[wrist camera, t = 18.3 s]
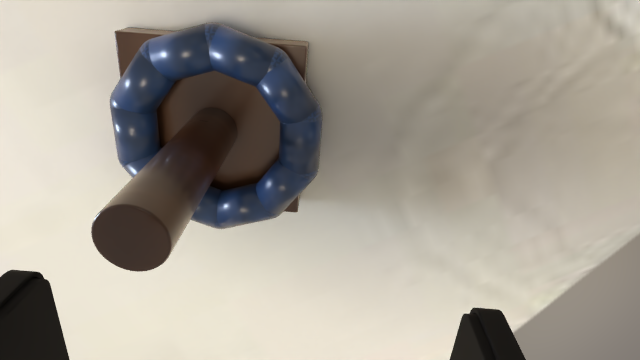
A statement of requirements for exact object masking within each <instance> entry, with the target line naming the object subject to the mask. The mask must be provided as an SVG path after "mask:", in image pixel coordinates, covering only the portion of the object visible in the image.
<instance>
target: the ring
mask: <svg viewBox="0 0 640 360" xmlns="http://www.w3.org/2000/svg"><path fill="white" fill-rule="evenodd" d="M211 71H217V72H219V73H222V74H224V75H227V76H230V77H232V78H235V79H237V80H240V81H242V82H245V83H247V84H250V85H252V86H255V87H256V88H257V89H258V91H259V92H260V94H261V95H262V96H263V98H264V99H265V101H266V102H267V104H268V105H269V107H270V108H271V109H272V111H273V112H274V114H275V115H276V117H277V118H278V120H279V121H280V143H279V158H278V160H277V161H276V162H275V163H274V164H273V165H272V167H271V168H270V169H269V170H268V171H267V172H266V174H265V175H264V176H263V177H262V178H261V179H260V180H259V182H258V183H254V184H250V185H245V186H241V187H236V188H232V189H227V190H220V189H217V188H215V187H212V186H209V188H208V190H207V191H206V193H205V195H204V197H203V198H202V200H201V202H200V203H199V205H198V207H197V209H196V210H195V212H194V214H193V216H192V217H191V219H190V220H193V221H196V222H199V223H202V224H205V225H208V226H211V227H213V228H217V229H225V228H230V227H235V226H239V225H244V224H249V223H254V222H259V221H263V220H268V219H272V218H276V217H277V216H279V215H280V214H281V213H282V212H283V211H284V210H285V209H286V208H287V207H288V206H289V205H290V204H291V203H292V202H293V201H294V199H295V198H296V197H297V196H298V195H299V194H300V193H301V192H302V191H303V190H304V189H305V188H306V186H307V185H308V184H309V183H310V182H311V181H312V180H313V179H314V178H315V176H316V175H317V172H318V168H319V156H320V142H321V128H322V110H321V107H320V105H319V103H318V102H317V100H316V99H315V97H314V95H313V94H312V92H311V91H310V89H309V88H308V86H307V85H306V83H305V81H304V80H303V78H302V77H301V75H300V74H299V72H298V71H297V69H296V67H295V66H294V64H293V63H292V61H291V60H290V58H289V57H288V55H287V54H286V53H285V52H284V51H283V50H282V49H280V48H278V47H276V46H274V45H271V44H269V43H266V42H264V41H261V40H259V39H257V38H254V37H252V36H249V35H247V34H244V33H242V32H240V31H237V30H235V29H232V28H230V27H227V26H225V25H223V24H220V23H213V22H212V23H206V24H202V25H199V26H195V27H191V28H188V29H184V30H181V31H177V32H173V33H170V34H166V35H162V36H159V37H155V38H152V39H149V40H147V41H146V42H145V43H143V44H142V46H141V47H140V48H139V50H138V52H137V53H136V55H135V56H134V58H133V60H132V61H131V63H130V65H129V66H128V68H127V69H126V71H125V73H124V74H123V76H122V77H121V79H120V81H119V82H118V84H117V85H116V87H115V89H114V90H113V92H112V94H111V97H110V108H111V115H112V121H113V128H114V134H115V141H116V148H117V154H118V159H119V162H120V164H121V165H122V166H123V167H124V169H125V170H126V171H127V172H128V173H129V174H130V175H131V176H132V178H133V177H134V176H135V175H136V174H137V173H138V172H139V171H140V170H141V169H142V168H143V167H144V166H145V165H146V164H147V163H148V162H149V161H150V160H151V159H152V158H153V157H154V156H155V155H156V154H157V153H158V152H159V151H160V150H161V149H162V148H161V147H160V139H159V130H158V120H157V111H156V110H157V108H158V107H159V105H160V104H161V102H162V101H163V100H164V98H165V97H166V95H167V94H168V92H169V91H170V89H171V88H172V86H173V85H174V83H175V82H176V81H177V80H181V79H184V78H188V77H192V76H196V75H200V74H204V73H208V72H211Z"/></svg>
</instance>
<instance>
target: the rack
mask: <svg viewBox="0 0 640 360" xmlns="http://www.w3.org/2000/svg"><path fill="white" fill-rule="evenodd" d="M173 32H177V31H165V30H152V29H139V28H125V29H121V30H118V31H115V39H116V47H117V54H118V62H119V69H120V77H122V76H123V74H124V73H125V71H126V69H127V68H128V66H129V65H130V63H131V61H132V60H133V58H134V56H135V55H136V53H137V52H138V50H139V48H140V47H141V46H142V44H143V43H145V42H146V41H147V40H149V39H152V38H155V37H159V36H162V35H166V34H170V33H173ZM257 39H259V40H261V41H264V42H266V43H269V44H271V45H274V46H276V47H278V48H280V49H282V50H283V51H284V52H285V53H286V54H287V55H288V57H289V58H290V60H291V61H292V63H293V64H294V66H295V67H296V69H297V71H298V72H299V74H300V75H301V77H302V78H303V80H304V81H305V83H306V77H307V60H308V42H305V41H292V40H279V39H267V38H257ZM156 111H157V120H158V130H159V139H160V147H161V148H162V149H161V150H160V151H159V152H158V153H157V154H156V155H155V156H154V157H153V158H152V159H151V160H150V161H149V162H148V163H147V164H146V165H145V166H144V167H143V168H142V169H141V170H140V171H139V172H138V173H137V174H136V175H135V176H134V177H133V178H132V179H131V180H130V182H129V183H128V184H127V185H126V186H125V187H124V188H123V189H122V190H121V191H120V192H119V193H118V194H117V195H116V196H115V197H114V198H113V199H112V200H111V201H110V202H109V203H108V204H107V205H106V206H105V207H104V208H103V209H102V210H101V211H100V212H99V213H98V214H97V216H96V217H95V219H94V221H93V224H92V232H91V233H92V239H93V242H94V244H95V246H96V248H97V250H98V251H99V252H100V254H101V255H102V256H103V257H104V258H105V259H107V260H108V261H109V262H111V263H112V264H114V265H116V266H118V267H120V268H123V269H126V270H130V271H147V270H151V269H154V268H156V267H158V266H160V265H161V264H163V263H164V262H165V261H166V260H167V258H168V257H169V255H170V254H171V252H172V250H173V248H174V247H175V245H176V243H177V241H178V240H179V238H180V236H181V235H182V233H183V231H184V229H185V228H186V226H187V224H188V222H189V221H190V219H191V217H192V216H193V214H194V212H195V210H196V209H197V207H198V205H199V203H200V202H201V200H202V198H203V197H204V195H205V193H206V191H207V190H208V188H209V186H212V187H215V188H217V189H220V190H227V189H232V188H236V187H241V186H245V185H250V184H254V183H258V182H259V180H260V179H261V178H262V177H263V176H264V175H265V174H266V172H267V171H268V170H269V169H270V168H271V167H272V165H273V164H274V163H275V162H276V161H277V160H278V158H279V143H280V121H279V120H278V118H277V117H276V115H275V114H274V112H273V111H272V109H271V108H270V107H269V105H268V104H267V102H266V101H265V99H264V98H263V96H262V95H261V94H260V92H259V91H258V89H257V88H256V87H255V86H252V85H250V84H247V83H245V82H242V81H240V80H237V79H235V78H232V77H230V76H227V75H224V74H222V73H219V72H217V71H211V72H208V73H204V74H200V75H196V76H192V77H188V78H184V79H181V80H177V81H176V82H175V83H174V85H173V86H172V88H171V89H170V91H169V92H168V94H167V95H166V97H165V98H164V100H163V101H162V102H161V104H160V105H159V107H158V108H157V110H156ZM299 198H300V194H299V195H298V196H297V197H296V198H295V199H294V201H293V202H292V203H291V204H290V205H289V206H288V207H287V208H286V209H285V210H284V211H286V212H297V211H298V206H299Z"/></svg>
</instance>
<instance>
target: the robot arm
mask: <svg viewBox="0 0 640 360" xmlns="http://www.w3.org/2000/svg"><path fill="white" fill-rule="evenodd" d="M0 360H69V356H68V352H67V349H66V345H65V341H64V337H63V333H62V329H61V325H60V321H59V317H58V313H57V310H56V306H55V302H54V298H53V294H52V290H51V286H50V283H49V281H48V280H46V279H44V277H43V275H42V274H41V273H39V272H32V271H20V270H10V271H8V272H6V273H5V274H3V275H2V276H1V277H0ZM450 360H526V359H525V357H524V355H523V353H522V351H521V349H520V347H519V345H518V343H517V341H516V339H515V337H514V335H513V333H512V331H511V329H510V327H509V325H508V323H507V321H506V318H505V316H504V315H503V313H502V312H501V311H500V310H496V309H484V308H473V309H472V310H471V312H470V314H464V315H463V316H462V319H461V322H460V326H459V329H458V333H457V336H456V340H455V343H454V347H453V350H452V354H451V357H450Z"/></svg>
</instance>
